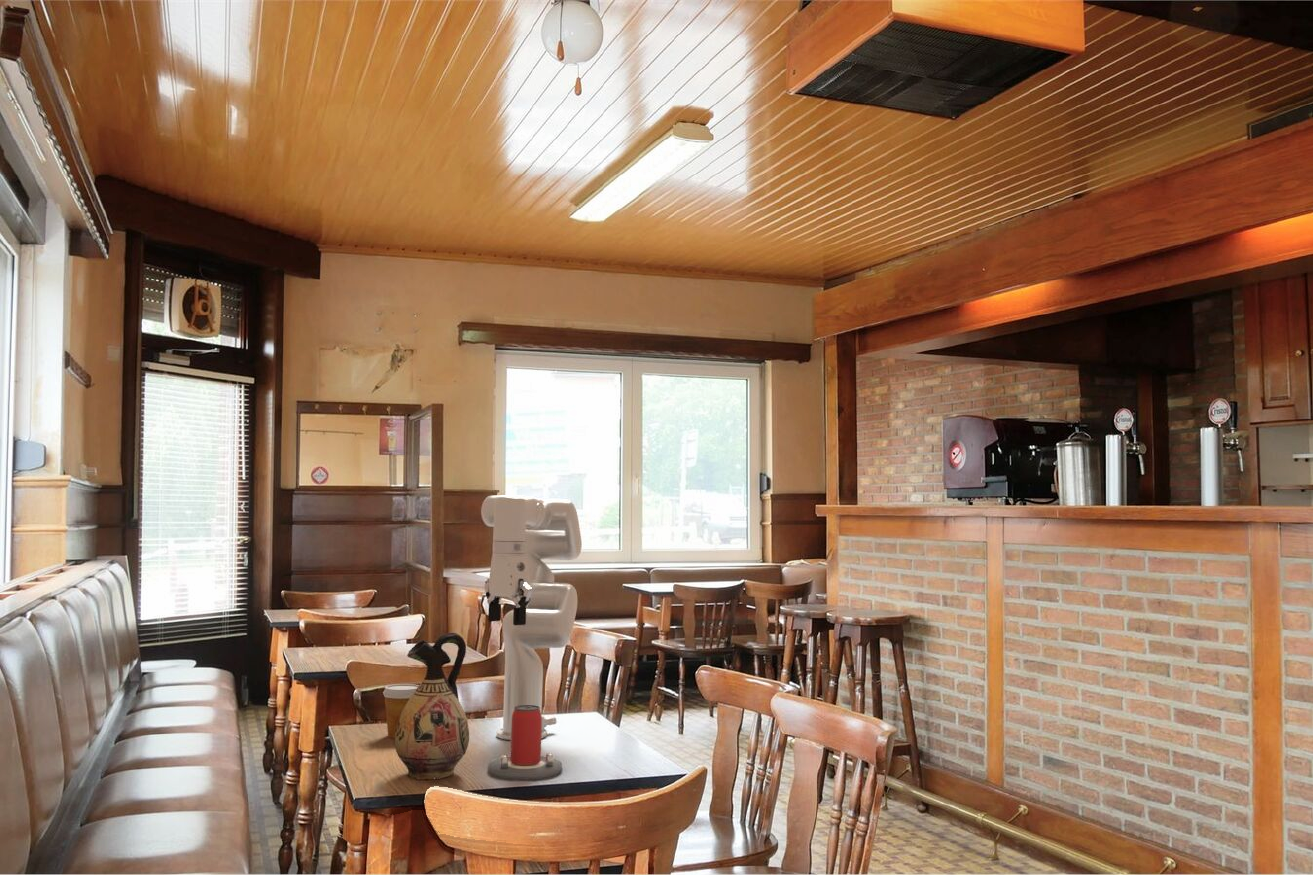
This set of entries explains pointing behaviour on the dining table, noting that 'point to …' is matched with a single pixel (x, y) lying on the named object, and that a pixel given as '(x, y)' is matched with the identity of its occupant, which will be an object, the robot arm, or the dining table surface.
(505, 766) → the steel pins
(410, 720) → the ceramic jug
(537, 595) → the robot arm
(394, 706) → the disposable coffee cup
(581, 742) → the dining table surface
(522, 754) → the beer can
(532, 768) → the pin plate
